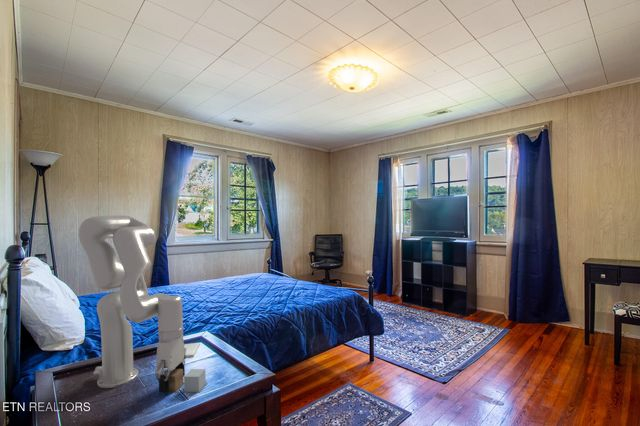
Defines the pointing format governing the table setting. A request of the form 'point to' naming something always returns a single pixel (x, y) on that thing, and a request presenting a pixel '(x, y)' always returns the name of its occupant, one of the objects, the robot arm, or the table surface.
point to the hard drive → (191, 349)
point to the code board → (189, 392)
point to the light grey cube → (194, 380)
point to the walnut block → (175, 379)
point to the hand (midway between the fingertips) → (172, 383)
